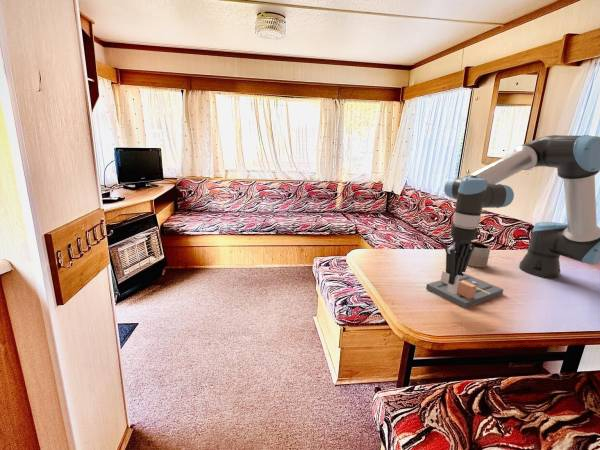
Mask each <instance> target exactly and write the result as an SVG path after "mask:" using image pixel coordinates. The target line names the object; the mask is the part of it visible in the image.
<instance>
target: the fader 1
mask: <svg viewBox="0 0 600 450" xmlns="http://www.w3.org/2000/svg"><path fill="white" fill-rule="evenodd" d="M449 276H450V274H448V273H446V269H444V270H442V271H441V276H440V277H441V278H440V280H441V282H443V283H445V284H447V285H448V281H449Z"/></svg>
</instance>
